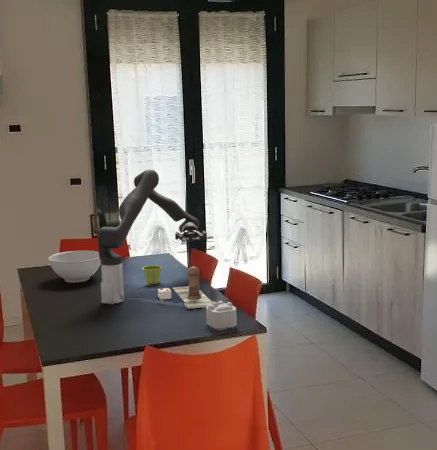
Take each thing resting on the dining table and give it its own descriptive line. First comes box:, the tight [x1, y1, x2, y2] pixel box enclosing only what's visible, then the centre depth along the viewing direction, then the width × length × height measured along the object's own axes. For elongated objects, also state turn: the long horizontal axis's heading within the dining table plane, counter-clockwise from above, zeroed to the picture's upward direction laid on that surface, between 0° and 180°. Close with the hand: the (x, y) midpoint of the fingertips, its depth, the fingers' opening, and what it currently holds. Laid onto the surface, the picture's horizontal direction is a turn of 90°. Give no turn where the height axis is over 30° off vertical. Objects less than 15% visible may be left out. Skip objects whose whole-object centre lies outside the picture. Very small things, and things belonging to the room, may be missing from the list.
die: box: [157, 287, 172, 303], centre depth 286 cm, size 5×5×5 cm
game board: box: [172, 285, 213, 309], centre depth 288 cm, size 32×12×2 cm, turn 16°
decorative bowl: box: [47, 250, 101, 284], centre depth 326 cm, size 27×27×12 cm
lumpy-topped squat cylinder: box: [205, 300, 238, 328], centre depth 251 cm, size 10×13×9 cm
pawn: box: [187, 265, 202, 301], centre depth 283 cm, size 6×6×14 cm
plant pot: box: [141, 265, 162, 286], centre depth 312 cm, size 9×9×9 cm
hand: (191, 238), depth 291 cm, fingers open, 8 cm apart
